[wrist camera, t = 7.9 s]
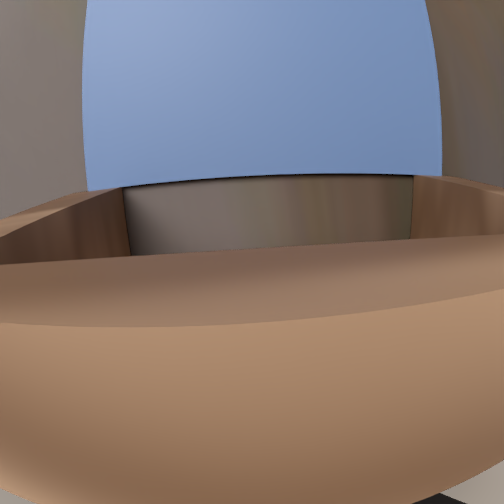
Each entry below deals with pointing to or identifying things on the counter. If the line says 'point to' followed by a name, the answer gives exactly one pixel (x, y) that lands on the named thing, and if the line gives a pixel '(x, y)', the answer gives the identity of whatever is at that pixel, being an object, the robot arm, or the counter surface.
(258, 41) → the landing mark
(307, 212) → the counter surface
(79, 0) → the counter surface
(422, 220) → the bridge
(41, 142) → the counter surface
